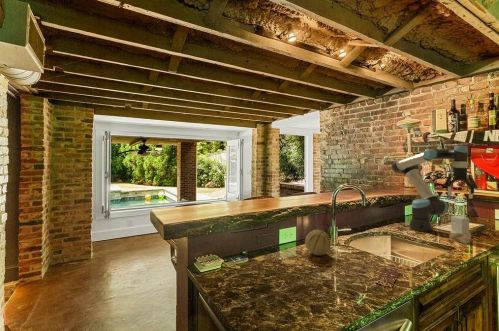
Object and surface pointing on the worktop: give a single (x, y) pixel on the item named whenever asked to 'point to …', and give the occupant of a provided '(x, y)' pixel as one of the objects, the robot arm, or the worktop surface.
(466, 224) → the small box
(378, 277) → the chocolate bar
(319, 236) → the cantaloupe
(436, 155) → the robot arm
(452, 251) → the worktop surface
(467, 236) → the pedestal block
